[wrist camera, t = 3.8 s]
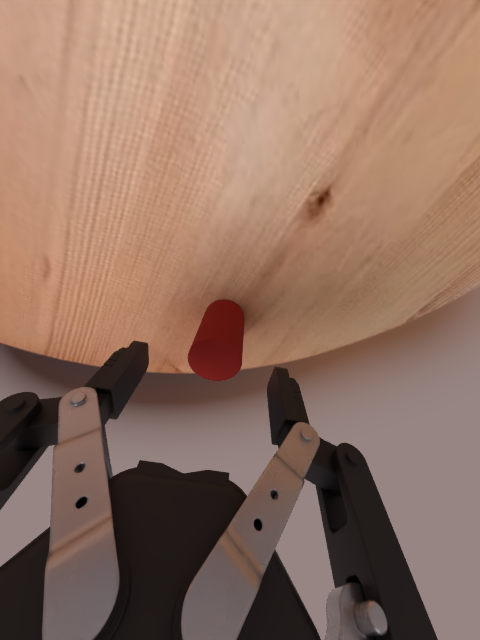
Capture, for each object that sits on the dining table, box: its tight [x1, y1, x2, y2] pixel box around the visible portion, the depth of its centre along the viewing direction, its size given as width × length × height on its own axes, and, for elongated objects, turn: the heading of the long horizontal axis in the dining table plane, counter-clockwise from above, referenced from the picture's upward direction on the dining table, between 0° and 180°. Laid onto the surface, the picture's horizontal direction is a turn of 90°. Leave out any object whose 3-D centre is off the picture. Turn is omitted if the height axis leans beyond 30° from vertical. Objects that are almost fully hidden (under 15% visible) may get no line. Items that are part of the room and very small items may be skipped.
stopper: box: [188, 300, 244, 381], centre depth 16 cm, size 4×4×6 cm
